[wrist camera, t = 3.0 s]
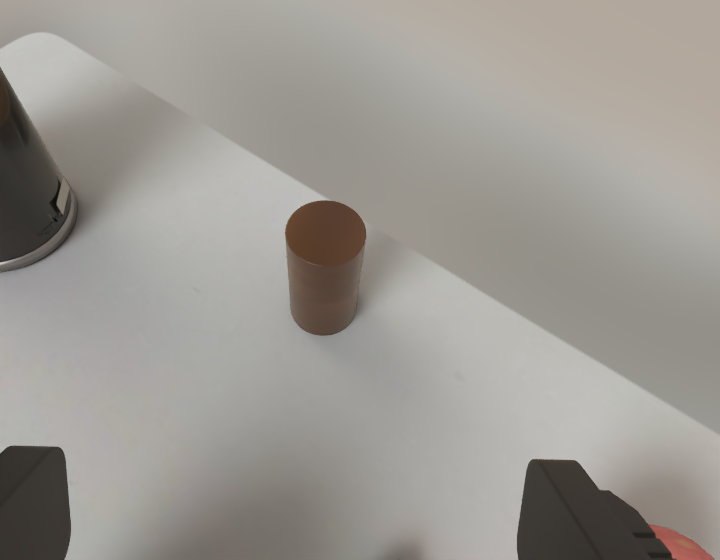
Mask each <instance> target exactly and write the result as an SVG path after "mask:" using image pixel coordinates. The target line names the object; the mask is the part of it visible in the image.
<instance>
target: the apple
mask: <svg viewBox="0 0 720 560" xmlns="http://www.w3.org/2000/svg"><path fill="white" fill-rule="evenodd" d="M649 526H650V527H651V529H652V530H653V531H654V532H655V535H656V538H660V540H661V541H662V542H663V543H664V545H665V546H666V547H667V548H668V549H669V551H670V552H671V553H672V558H673V559H677V560H714V558H713V557H712V556H711V555H710V554H708V553H707V552H706V551H705V550H704V549H702V548H701V547H700V546H699V545H698V544H696V543H695V542H694V541H692V540H691V539H689V538H687V537H685V536H683V535H681V534H679V533H677V532H675V531H673V530H671V529H668V528H663V527H659V526H654V525H649Z"/></svg>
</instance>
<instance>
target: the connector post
mask: <svg viewBox="0 0 720 560" xmlns="http://www.w3.org/2000/svg"><path fill="white" fill-rule="evenodd" d="M285 237H286V250H287V264H288V278H289V292H290V306H291V313H292V316H293V318H294V320H295V322H296V323H297V324H298V325H299V326H300V327H301V328H302V329H304V330H305V331H307V332H309V333H312V334H315V335H331V334H335V333H338V332H340V331H342V330H343V329H344V328H346V327H347V326H348V325H349V324H350V322H351V321H352V319H353V317H354V315H355V310H356V303H357V296H358V289H359V282H360V275H361V268H362V261H363V254H364V247H365V240H366V229H365V225H364V223H363V221H362V219H361V218H360V216H359V215H358V214H357V213H356V212H355V211H354V210H353V209H351V208H349V207H348V206H346V205H344V204H341V203H338V202H334V201H316V202H311V203H308V204H306V205H304V206H302V207H300V208H299V209H298V210H296V211H295V212H294V213H293V214H292V216H291V217H290V219H289V220H288V223H287V225H286V230H285Z"/></svg>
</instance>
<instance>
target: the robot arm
mask: <svg viewBox="0 0 720 560" xmlns="http://www.w3.org/2000/svg"><path fill="white" fill-rule="evenodd" d="M76 217H77V200H76V197H75V195H74V192H73V191H72V189H71V187H70V185H69V184H68V182H67V180H66V179H65V178H64V176H62V174H61V173H60V171H59V169H58V167H57V166H56V164H55V162H54V160H53V158H52V156H51V155H50V153H49V151H48V149H47V148H46V146H45V144H44V142H43V141H42V139H41V137H40V136H39V134H38V132H37V130H36V129H35V127H34V125H33V123H32V122H31V120H30V118H29V116H28V115H27V113H26V111H25V109H24V108H23V106H22V104H21V102H20V101H19V99H18V97H17V95H16V94H15V92H14V90H13V88H12V87H11V85H10V83H9V82H8V80H7V78H6V76H5V75H4V73H3V71H2V69H1V68H0V272H4V271H10V270H14V269H18V268H21V267H25V266H27V265H30V264H32V263H34V262H36V261H38V260H40V259H42V258H43V257H45V256H47V255H48V254H50V253H51V252H52V251H53V250H55V249H56V248H57V247H58V246H59V245H60V244H61V243H62V242H63V241H64V240H65V239H66V237H67V236H68V235H69V233H70V231H71V230H72V228H73V226H74V223H75V221H76ZM70 535H71V520H70V508H69V496H68V484H67V472H66V460H65V455H64V452H63V450H62V449H61V448H59V447H47V446H9V447H7V448H6V449H5V450H3V451H2V452H1V453H0V560H64V559H65V557H66V554H67V550H68V546H69V542H70ZM517 552H518V559H519V560H677V559H673V558H672V553H671V552H670V551H669V549H668V548H667V547H666V546H665V545H664V543H663V542H662V541H661V540H660V538H656V535H655V532H654V531H653V530H652V529H651V527H650V526H649V525H648V524H647V523H646V521H645V520H644V519H643V518H642V516H641V515H640V514H639V513H638V512H637V510H635V509H634V508H633V507H631V506H630V505H628V504H627V503H626V502H624V501H623V500H621V499H620V498H619V497H617V496H616V495H614V494H613V493H612V492H610V491H602V490H599V489H598V487H597V486H596V485H595V483H594V482H593V481H592V480H591V478H590V477H589V476H588V474H587V473H586V472H585V470H584V469H583V468H582V466H581V465H580V464H579V463H578V462H577V461H575V460H544V459H533V460H531V461H530V462H529V464H528V467H527V471H526V478H525V484H524V491H523V498H522V505H521V512H520V519H519V526H518V533H517Z"/></svg>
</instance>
